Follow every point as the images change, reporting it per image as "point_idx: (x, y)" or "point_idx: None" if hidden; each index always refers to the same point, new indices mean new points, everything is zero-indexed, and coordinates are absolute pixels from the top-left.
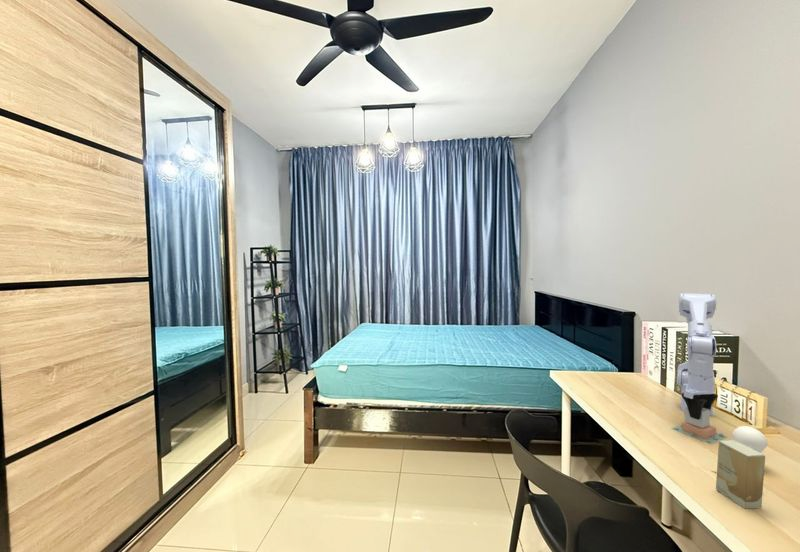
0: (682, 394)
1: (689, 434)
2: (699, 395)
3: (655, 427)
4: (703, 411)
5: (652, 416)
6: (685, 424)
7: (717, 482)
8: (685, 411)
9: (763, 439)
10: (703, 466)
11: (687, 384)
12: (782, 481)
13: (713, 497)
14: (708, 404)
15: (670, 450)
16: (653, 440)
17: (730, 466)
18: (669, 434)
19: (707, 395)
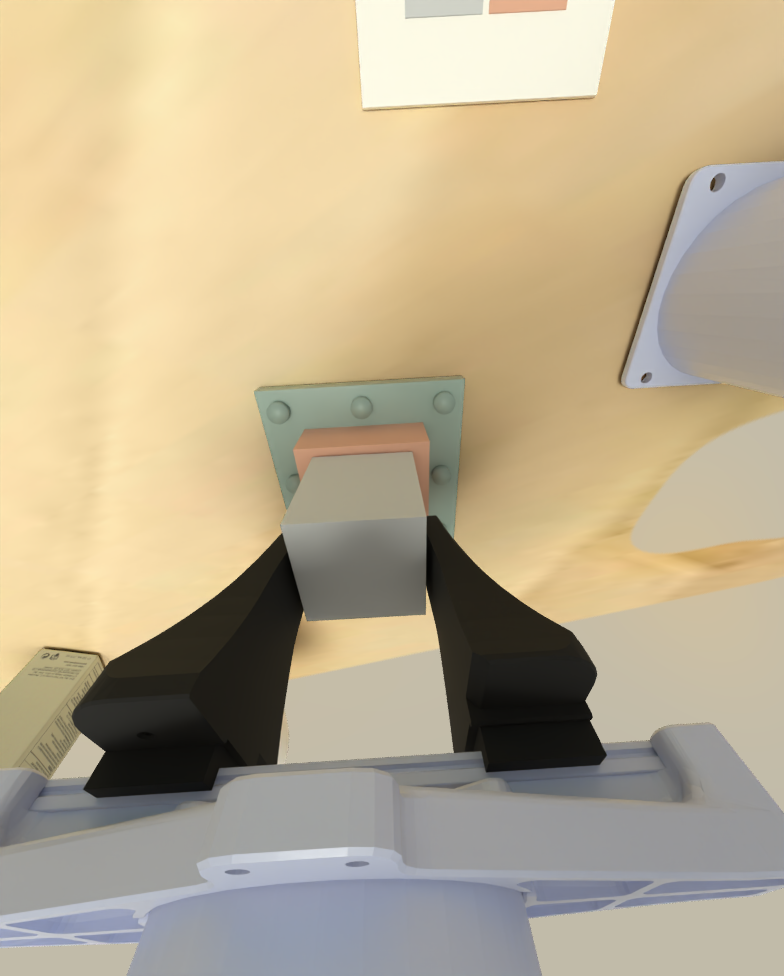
0: (77, 709)
1: (293, 472)
2: (459, 667)
3: (194, 309)
4: (328, 619)
5: (367, 139)
6: (299, 464)
7: (19, 674)
8: (294, 503)
9: None
10: (117, 591)
11: (316, 873)
12: (294, 667)
13: (6, 655)
14: (441, 642)
15: (63, 502)
16: (34, 417)
17: None
18: (207, 409)
19: (461, 742)
